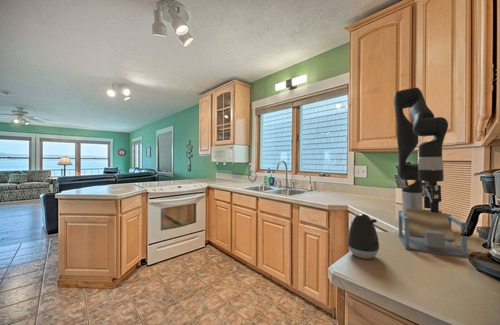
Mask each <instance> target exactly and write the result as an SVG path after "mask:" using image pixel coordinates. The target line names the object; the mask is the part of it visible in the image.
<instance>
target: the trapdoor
mask: <svg viewBox="0 0 500 325" xmlns="http://www.w3.org/2000/svg"><path fill="white" fill-rule="evenodd" d="M447 214H448V213H444V212H442V210H439V212H438V213H432V212H431V209H424V208H423V209H408V208H407V210H406V211H405V214H404V215H405V216H406V217H408V218H409V236H411V237H419V238H424V234H423V229H425V230H434V231H440V232H442V233H443V234H444V236H445V241H452V242H453V243H454V242H456V238H455V235H454V234H455V233H454V231H453V229H452V225H451V226H450V223H449V220H450V218H449V217H447Z"/></svg>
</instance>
